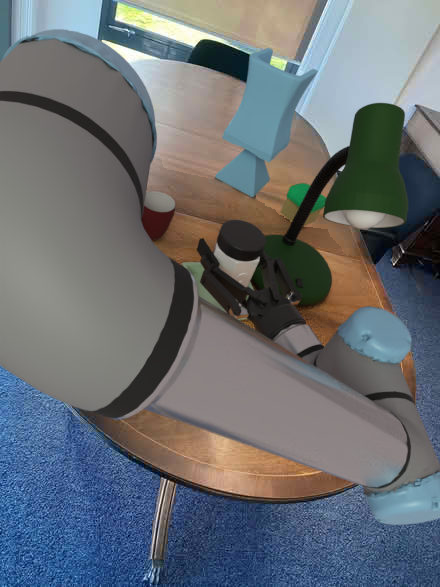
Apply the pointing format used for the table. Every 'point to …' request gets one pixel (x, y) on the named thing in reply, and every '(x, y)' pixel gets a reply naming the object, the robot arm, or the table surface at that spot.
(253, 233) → the jar
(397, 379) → the robot arm
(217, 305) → the tray
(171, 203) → the mug
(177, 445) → the table surface
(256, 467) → the table surface
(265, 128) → the planter
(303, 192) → the cake
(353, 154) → the desk lamp
